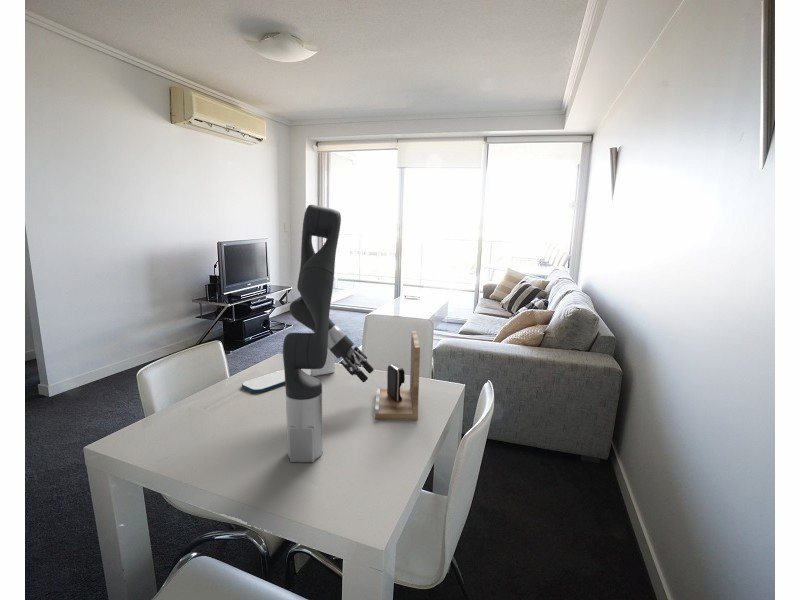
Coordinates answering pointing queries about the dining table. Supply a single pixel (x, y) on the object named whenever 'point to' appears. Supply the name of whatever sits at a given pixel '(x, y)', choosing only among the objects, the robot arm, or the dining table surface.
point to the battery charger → (395, 381)
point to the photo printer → (326, 365)
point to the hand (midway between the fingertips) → (369, 376)
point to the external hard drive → (265, 382)
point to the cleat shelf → (402, 392)
